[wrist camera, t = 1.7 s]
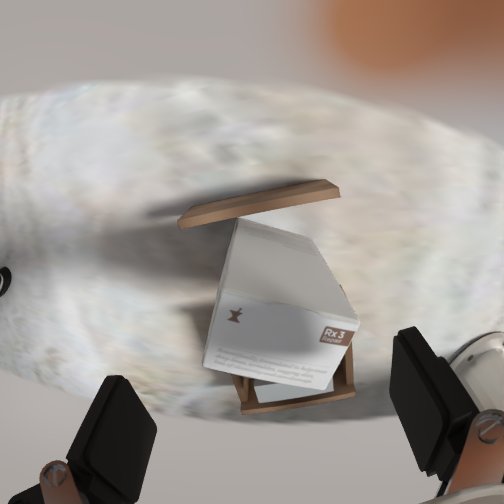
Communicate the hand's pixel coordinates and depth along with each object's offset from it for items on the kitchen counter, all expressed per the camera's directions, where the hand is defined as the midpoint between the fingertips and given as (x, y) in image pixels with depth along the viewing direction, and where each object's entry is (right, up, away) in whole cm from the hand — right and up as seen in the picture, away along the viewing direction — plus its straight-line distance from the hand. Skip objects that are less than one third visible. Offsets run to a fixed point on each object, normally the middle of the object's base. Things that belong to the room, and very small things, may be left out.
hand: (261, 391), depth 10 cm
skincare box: (+1, +5, +14) cm, 15 cm away
